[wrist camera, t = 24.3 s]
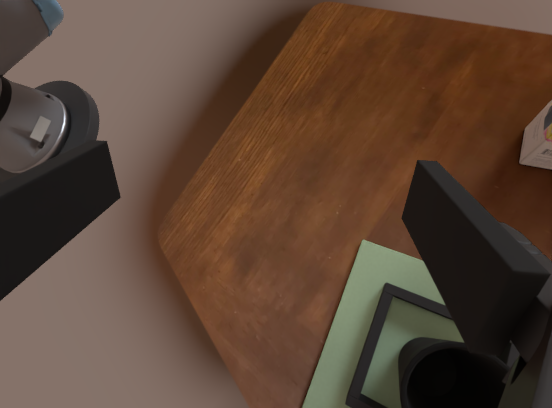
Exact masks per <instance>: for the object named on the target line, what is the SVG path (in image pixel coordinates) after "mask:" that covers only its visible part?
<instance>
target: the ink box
mask: <svg viewBox="0 0 552 408" xmlns="http://www.w3.org/2000/svg"><path fill="white" fill-rule="evenodd" d="M519 163H520V164H523V165H528V166H534V167H540V168H545V169H551V170H552V100H551V101H550V102H549V103H548V104H547V105H546V107H545V108H544V109H543V110H542V111H541V112H540V113H539V114H538V115H537V116H536V117H535V118H534V119H533V121H532V122H531V123H530V124H529V125H528V126H527V127H526V128H525V131H524V136H523V142H522V148H521V154H520V160H519Z"/></svg>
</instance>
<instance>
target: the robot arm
mask: <svg viewBox="0 0 552 408" xmlns="http://www.w3.org/2000/svg"><path fill="white" fill-rule="evenodd" d="M62 20H63V10H62V8H61V6H60V5H59V3H58V2H57V1H56V0H0V167H1V168H3V169H4V170H6V171H9V172H12V173H15V174H18V175H16V176H14V177H12V178H10V179H8V180H6V181H3V182H1V183H0V301H1V300H2V299H3V298H4V297H5V296H6V295H8V294H9V293H10V292H11V291H12V290H13V289H14V288H16V287H17V286H18V285H19V284H20V283H22V282H23V281H24V280H25V279H26V278H27V277H28V276H30V275H31V274H32V273H33V272H34V271H35V270H37V269H38V268H39V267H40V266H41V265H42V264H44V263H45V262H46V261H47V260H48V259H49V258H51V256H53V255H54V254H55V253H56V252H58V251H59V250H60V249H61V248H62V247H63V246H64V245H66V244H67V243H68V242H69V241H70V240H71V239H73V238H74V237H75V236H76V235H77V234H79V233H80V232H81V231H82V230H83V229H84V228H85V227H87V226H88V225H89V224H90V223H91V222H92V221H94V220H95V219H96V218H97V217H98V216H99V215H101V214H102V213H103V212H104V211H105V210H106V209H108V208H109V207H110V206H111V205H112V204H113V203H114V202H116V201H117V200H118V199H119V198H120V193H119V189H118V185H117V181H116V177H115V173H114V169H113V164H112V161H111V156H110V152H109V148H108V144H107V141H96V140H89V141H87V142H85V143H83V144H81V145H79V146H77V147H74V148H72V149H70V150H68V151H66V152H64V153H62V154H60V155H58V154H59V153H60V151H61V150H62V148H63V147H64V145H65V143H66V141H67V139H68V136H69V133H70V129H71V113H70V110H69V108H68V106H67V105H66V104H65V103H64V102H63V101H61V100H60V99H58V98H57V97H55V96H53V95H51V94H49V93H46V92H42V91H39V90H36V89H33V88H30V87H27V86H24V85H20V84H17V83H14V82H11V81H9V80H7V79H6V78H4V77H3V75H4V74H5V73H6V72H7V71H8V70H9V69H11V68H12V67H13V66H14V65H15V64H16V63H18V62H19V61H20V60H21V59H22V58H23V57H24V56H26V55H27V54H28V53H29V52H30V51H32V50H33V49H34V48H35V47H36V46H37V45H39V44H40V43H41V42H42V41H43V40H44V39H46V38H47V37H48V36H50V35H51V34H52V31H53V30H54V29H55V28H56V27H57V26H58V25H59V24H60V23H61V21H62ZM57 155H58V156H57ZM402 220H403V222H404V224H405V226H406V228H407V230H408V232H409V234H410V236H411V238H412V240H413V242H414V244H415V246H416V248H417V250H418V252H419V254H420V255H421V257H422V259H423V261H424V263H425V265H426V267H427V269H428V271H429V273H430V275H431V277H432V279H433V281H434V283H435V285H436V287H437V289H438V291H439V293H440V295H441V297H442V299H443V301H444V303H445V305H446V307H447V309H448V311H449V313H450V315H451V317H452V319H453V321H454V323H455V325H456V327H457V329H458V331H459V333H460V335H461V337H462V339H463V341H464V343H465V345H466V347H467V349H468V351H469V353H478V354H488V355H498V356H501V354H502V353H503V351H504V349H505V348H506V346H507V344H508V343H509V341H510V340H511V341H512V343H513V344H514V346H515V347H516V349H517V350H518V352H519V353H520V355H519V356H518V358H517V359H516V361H515V362H514V364H513V365H512V367H511V368H510V370H509V371H508V373H507V374H506V376H505V377H504V379H503V380H502V382H503V383H505V384H506V386H505V389H504V392H503V395H502V397H501V400H500V403H499V406H498V408H552V261H551V260H549V259H548V258H547V257H546V256H545V255H542V252H541V251H540V250H539V249H538V248H537V247H536V246H535V245H532V243H531V242H530V241H529V240H528V239H527V238H526V237H525V236H524V235H523V234H522V233H521V232H519V231H517V230H516V229H514V228H512V227H510V226H509V225H507V224H505V223H502V222H498V221H497V220H496V219H495V218H494V217H493V216H492V215H491V214H490V213H489V212H488V211H487V210H486V209H485V208H484V207H483V206H482V205H481V204H480V203H479V202H478V201H477V200H476V199H475V198H474V197H473V196H472V195H471V194H470V193H469V192H467V191H466V190H465V189H464V188H463V187H462V186H461V185H460V184H459V183H458V182H457V181H456V180H455V179H454V178H453V177H452V176H451V175H450V174H449V173H448V172H447V171H446V170H445V169H444V168H443V167H442V166H441V165H440V164H439V163H438V162H437V161H424V160H417V164H416V167H415V171H414V175H413V178H412V182H411V186H410V189H409V193H408V197H407V200H406V204H405V208H404V211H403V215H402Z"/></svg>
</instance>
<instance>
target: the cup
mask: <svg viewBox="0 0 552 408" xmlns="http://www.w3.org/2000/svg"><path fill="white" fill-rule="evenodd" d="M509 370H510V367H509V366H508V365H506V364H505V363H504V362H503V361H501V360H500V359H499V358H498V357H496V356H495V355H488V354H478V353H469V351H468V349H467V347H466V345H465V343H464V342H457V341H450V340H442V339H435V338H428V337H419V338H414V339H412V340H410V341H408V342H407V343H406V344H405V345H404V346H403V348H402V349H401V351H400V354H399V357H398V373H399V391H400V402H401V408H498V406H499V403H500V400H501V397H502V395H503V392H504V389H505V386H506V384H505V383H503V382H502V380H503V379H504V377H505V376H506V374H507V373H508V371H509Z"/></svg>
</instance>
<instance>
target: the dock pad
mask: <svg viewBox="0 0 552 408" xmlns="http://www.w3.org/2000/svg"><path fill="white" fill-rule="evenodd" d="M419 337H428V338H435V339H442V340H450V341H457V342H464V341H463V339H462V337H461V335H460V333H459V331H458V329H457V327H456V325H455V323H454V321H453V319H452V317H451V315H450V313H449V311H448V309H447V307H446V305H445V303H444V301H443V299H442V297H441V295H440V293H439V291H438V289H437V287H436V285H435V283H434V281H433V279H432V277H431V275H430V273H429V271H428V269H427V267H426V265H425V263H424V261H422V260H419V259H416V258H414V257H411V256H408V255H405V254H402V253H399V252H397V251H394V250H391V249H388V248H385V247H382V246H380V245H377V244H374V243H371V242H368V241H365V240H362V242H361V245H360V248H359V251H358V253H357V256H356V259H355V262H354V265H353V267H352V270H351V273H350V276H349V278H348V281H347V284H346V287H345V290H344V292H343V295H342V298H341V301H340V303H339V306H338V309H337V312H336V315H335V317H334V320H333V323H332V326H331V328H330V331H329V334H328V337H327V340H326V342H325V345H324V348H323V351H322V353H321V356H320V359H319V362H318V365H317V367H316V370H315V373H314V376H313V378H312V381H311V384H310V387H309V390H308V392H307V395H306V398H305V401H304V403H303V406H302V408H401V402H400V391H399V373H398V357H399V354H400V351H401V349H402V348H403V346H404V345H405V344H406V343H407V342H408V341H410V340H412V339H414V338H419ZM519 355H520V353H519V352H518V350H517V349H516V347H515V346H514V344H513V343H512V341H511V340H510V341H509V343H508V344H507V346H506V348H505V349H504V351H503V353H502V354H501V356H498V355H495V356H496V357H498V358H499V359H500V360H501V361H503V362H504V363H505V364H506V365H508V366H509V367H510V368H511V367H512V365H513V364H514V362H515V361H516V359H517V358H518V356H519Z"/></svg>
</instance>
